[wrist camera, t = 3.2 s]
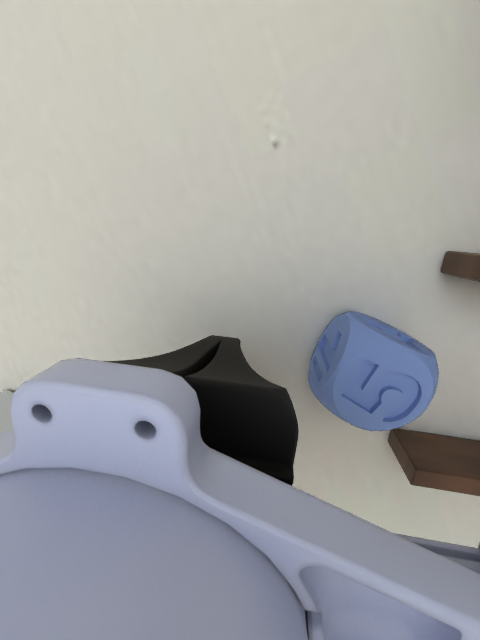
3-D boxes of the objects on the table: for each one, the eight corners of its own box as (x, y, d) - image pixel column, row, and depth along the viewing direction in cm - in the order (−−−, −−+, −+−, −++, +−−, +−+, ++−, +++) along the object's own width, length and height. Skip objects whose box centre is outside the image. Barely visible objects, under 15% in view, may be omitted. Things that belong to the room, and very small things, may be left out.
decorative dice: (339, 302, 14) (362, 328, 10) (410, 333, 14) (459, 370, 10) (303, 365, 15) (312, 409, 12) (369, 393, 15) (399, 446, 12)
